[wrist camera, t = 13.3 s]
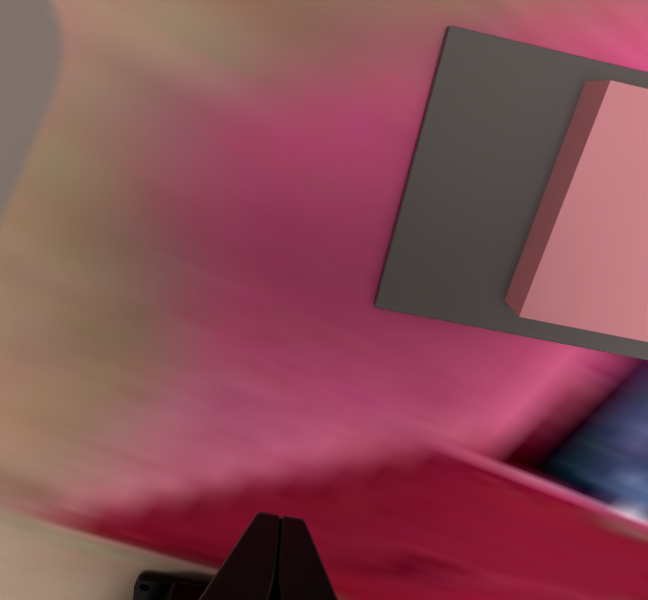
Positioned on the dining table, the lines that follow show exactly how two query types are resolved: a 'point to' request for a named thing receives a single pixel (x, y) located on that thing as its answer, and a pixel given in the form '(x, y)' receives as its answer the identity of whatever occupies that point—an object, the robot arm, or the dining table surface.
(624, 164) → the pink rectangular block
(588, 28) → the dining table surface
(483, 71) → the mat
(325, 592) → the robot arm
